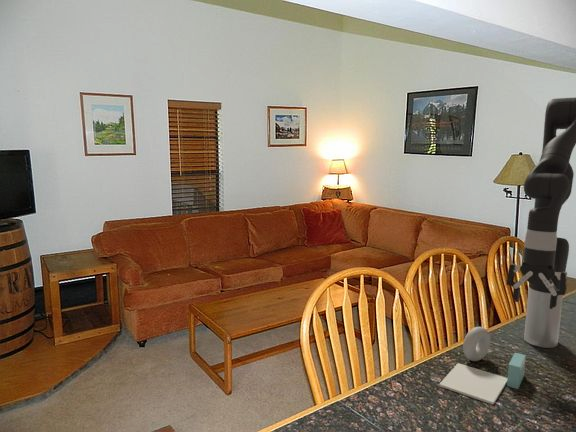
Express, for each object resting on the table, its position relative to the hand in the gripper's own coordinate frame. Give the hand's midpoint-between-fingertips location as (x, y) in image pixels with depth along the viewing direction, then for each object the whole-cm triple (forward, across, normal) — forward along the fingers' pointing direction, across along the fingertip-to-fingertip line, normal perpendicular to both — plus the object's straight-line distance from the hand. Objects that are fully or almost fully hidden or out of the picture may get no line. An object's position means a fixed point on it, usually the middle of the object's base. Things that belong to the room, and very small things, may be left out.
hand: (533, 304), depth 125 cm
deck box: (+18, 0, +12) cm, 21 cm away
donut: (+18, +12, +7) cm, 22 cm away
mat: (+18, +8, +20) cm, 28 cm away
